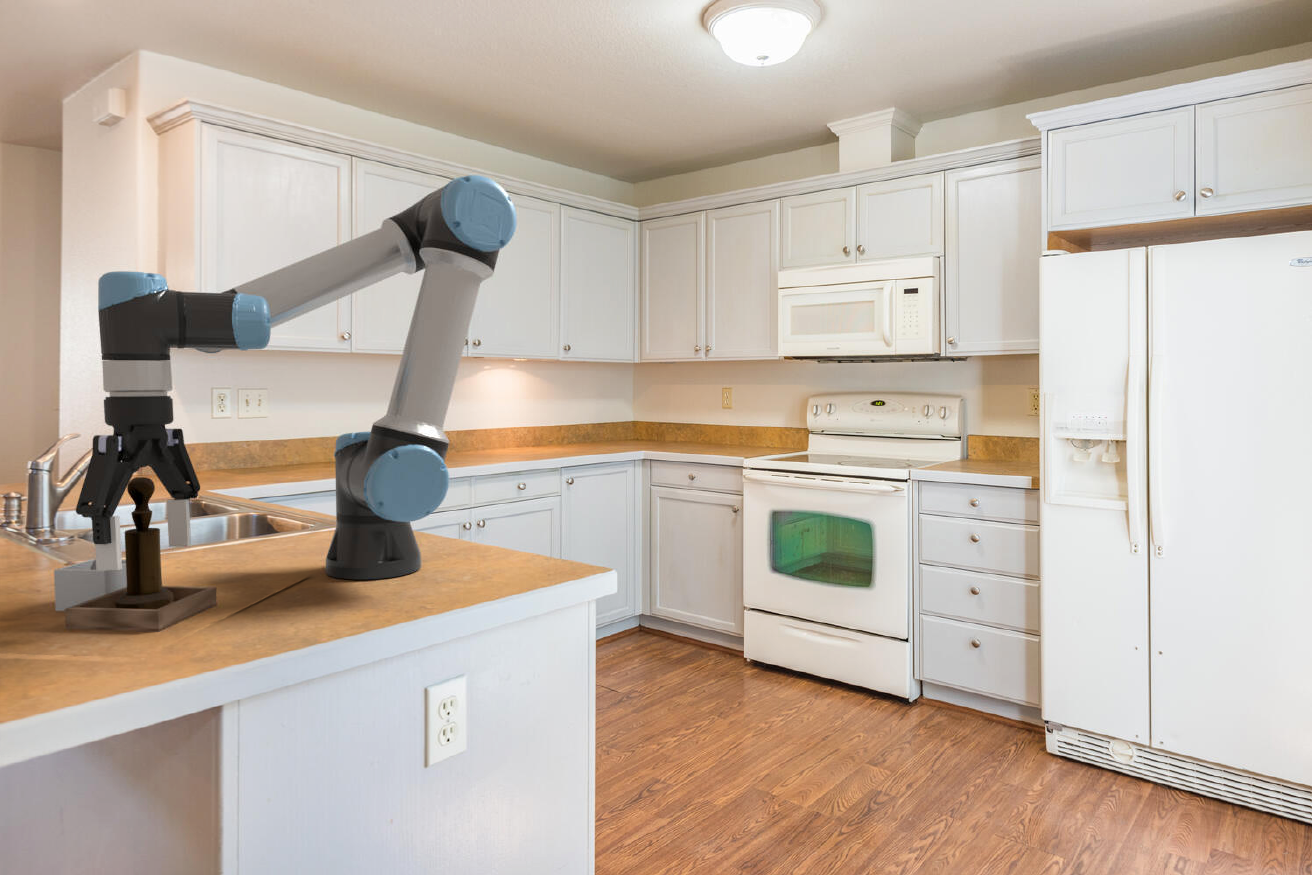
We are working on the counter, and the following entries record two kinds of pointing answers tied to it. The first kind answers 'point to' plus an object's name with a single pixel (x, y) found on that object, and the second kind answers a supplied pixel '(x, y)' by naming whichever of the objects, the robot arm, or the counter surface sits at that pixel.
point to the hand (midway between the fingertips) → (147, 557)
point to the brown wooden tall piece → (143, 554)
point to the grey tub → (85, 583)
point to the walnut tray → (140, 611)
